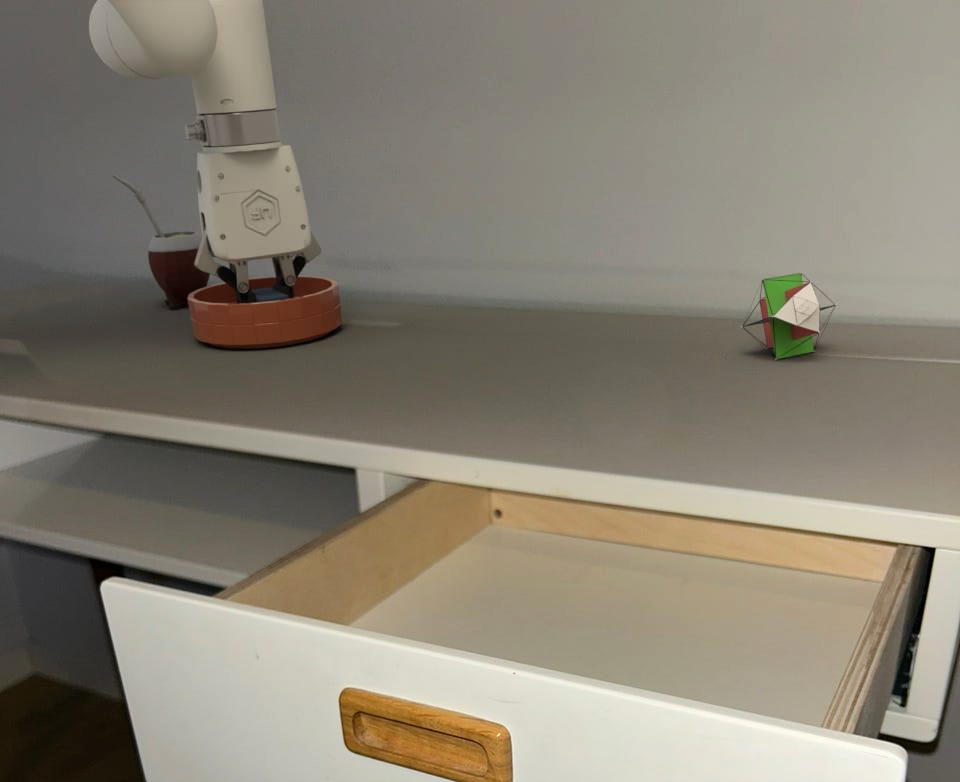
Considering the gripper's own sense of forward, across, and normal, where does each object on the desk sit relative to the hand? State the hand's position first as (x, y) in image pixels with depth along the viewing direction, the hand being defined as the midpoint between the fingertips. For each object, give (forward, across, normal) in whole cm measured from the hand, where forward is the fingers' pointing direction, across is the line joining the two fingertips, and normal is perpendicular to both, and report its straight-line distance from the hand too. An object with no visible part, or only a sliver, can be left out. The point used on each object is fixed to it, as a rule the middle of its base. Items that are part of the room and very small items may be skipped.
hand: (269, 325), depth 111 cm
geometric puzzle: (+1, +33, -41) cm, 53 cm away
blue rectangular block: (0, 0, 0) cm, 0 cm away
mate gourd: (+1, -3, +23) cm, 23 cm away
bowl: (+1, 0, 0) cm, 1 cm away
